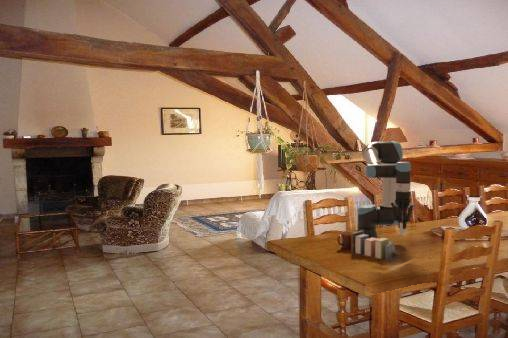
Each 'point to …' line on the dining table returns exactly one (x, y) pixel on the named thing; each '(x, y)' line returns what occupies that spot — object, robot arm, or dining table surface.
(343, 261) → the dining table surface
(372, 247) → the rust book
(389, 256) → the bookend
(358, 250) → the blue-grey block
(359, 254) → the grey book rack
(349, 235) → the mug
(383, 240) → the olive book
